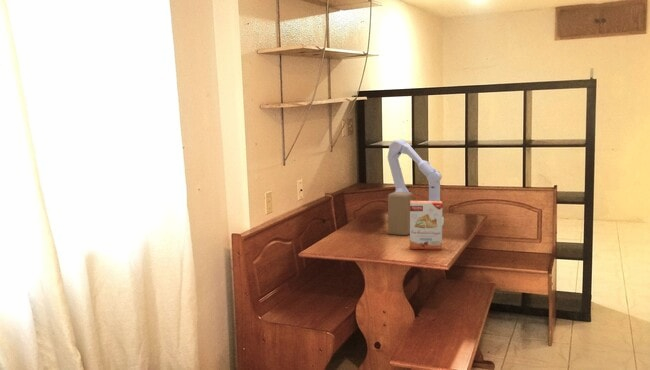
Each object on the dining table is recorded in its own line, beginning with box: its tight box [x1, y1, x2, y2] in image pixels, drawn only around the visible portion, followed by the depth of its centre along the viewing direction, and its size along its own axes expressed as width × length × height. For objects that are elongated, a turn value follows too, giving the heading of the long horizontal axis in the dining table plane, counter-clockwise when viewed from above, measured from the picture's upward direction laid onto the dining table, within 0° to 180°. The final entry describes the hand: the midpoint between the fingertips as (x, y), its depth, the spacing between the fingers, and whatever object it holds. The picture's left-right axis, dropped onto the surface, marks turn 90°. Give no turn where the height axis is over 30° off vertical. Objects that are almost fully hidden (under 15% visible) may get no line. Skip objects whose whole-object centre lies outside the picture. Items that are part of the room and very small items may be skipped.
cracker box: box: [409, 200, 443, 251], centre depth 259 cm, size 14×6×21 cm, turn 82°
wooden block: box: [387, 191, 414, 237], centre depth 290 cm, size 10×10×20 cm
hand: (434, 220), depth 308 cm, fingers closed
